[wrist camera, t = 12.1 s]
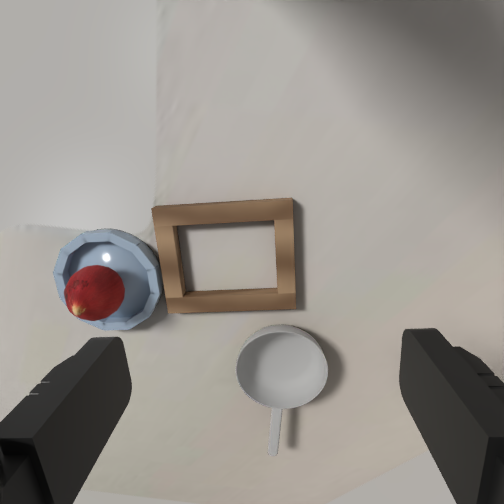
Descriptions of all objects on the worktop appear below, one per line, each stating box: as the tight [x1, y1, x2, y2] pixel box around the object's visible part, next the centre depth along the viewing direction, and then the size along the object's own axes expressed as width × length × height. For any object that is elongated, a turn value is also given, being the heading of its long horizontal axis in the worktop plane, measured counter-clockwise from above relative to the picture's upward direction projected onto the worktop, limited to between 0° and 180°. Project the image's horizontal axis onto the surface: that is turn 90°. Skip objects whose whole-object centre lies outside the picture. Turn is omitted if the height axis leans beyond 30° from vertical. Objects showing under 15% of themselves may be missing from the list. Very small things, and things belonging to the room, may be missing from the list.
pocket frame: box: [151, 198, 296, 313], centre depth 38 cm, size 12×15×2 cm
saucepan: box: [236, 325, 328, 456], centre depth 42 cm, size 11×18×4 cm, turn 176°
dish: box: [53, 229, 163, 330], centre depth 39 cm, size 12×12×2 cm
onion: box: [64, 265, 125, 321], centre depth 36 cm, size 6×6×8 cm
